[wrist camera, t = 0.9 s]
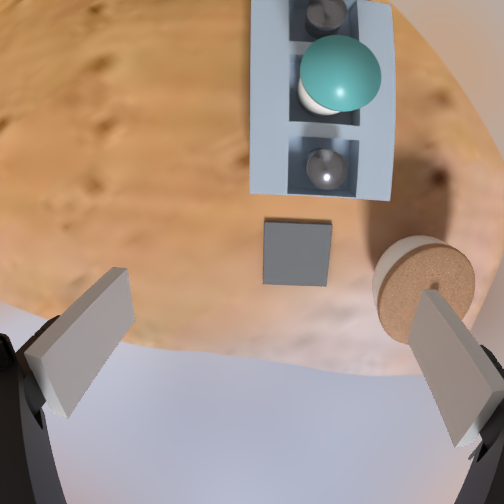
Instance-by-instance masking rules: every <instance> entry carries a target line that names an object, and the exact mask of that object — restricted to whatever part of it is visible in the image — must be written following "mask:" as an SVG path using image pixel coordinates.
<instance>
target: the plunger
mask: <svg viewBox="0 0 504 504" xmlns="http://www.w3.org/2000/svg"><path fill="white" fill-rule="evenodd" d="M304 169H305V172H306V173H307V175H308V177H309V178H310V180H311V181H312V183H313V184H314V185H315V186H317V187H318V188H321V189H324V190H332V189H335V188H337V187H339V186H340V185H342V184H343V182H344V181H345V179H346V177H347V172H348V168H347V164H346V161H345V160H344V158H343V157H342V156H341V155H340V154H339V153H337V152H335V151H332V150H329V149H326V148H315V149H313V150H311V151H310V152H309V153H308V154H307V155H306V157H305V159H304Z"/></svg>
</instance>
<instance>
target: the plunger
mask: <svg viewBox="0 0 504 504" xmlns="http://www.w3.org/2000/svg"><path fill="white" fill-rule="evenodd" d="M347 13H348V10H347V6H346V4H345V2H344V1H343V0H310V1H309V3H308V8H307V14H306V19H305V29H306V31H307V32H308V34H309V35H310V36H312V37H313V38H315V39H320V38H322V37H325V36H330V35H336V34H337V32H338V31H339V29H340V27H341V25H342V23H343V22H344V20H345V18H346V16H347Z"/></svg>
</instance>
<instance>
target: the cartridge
mask: <svg viewBox="0 0 504 504" xmlns="http://www.w3.org/2000/svg"><path fill="white" fill-rule="evenodd" d="M380 85H381V69H380V65H379V63H378V61H377V59H376V57H375V55H374V54H373V53H372V51H371V50H370V49H369V48H368V47H367V46H366V45H364V44H363V43H361V42H360V41H358V40H356V39H354V38H351V37H348V36H343V35H330V36H325V37H322V38H320V39H318V40H316V41H315V42H313V43H312V44H311V45H310V46H309V47H308V48H307V50H306V51H305V53H304V55H303V58H302V61H301V65H300V79H299V82H298V86H297V90H296V96H297V100H298V102H299V104H300V106H301V107H302V108H303V110H305V111H306V112H307V113H309V114H310V115H313V116H316V117H328V116H331V115H333V114H336V113H339V112H347V111H353V110H356V109H359V108H362V107H364V106H365V105H367V104H368V103H370V102H371V101H372V100H373V99H374V98H375V96H376V95H377V93H378V91H379V89H380Z"/></svg>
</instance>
